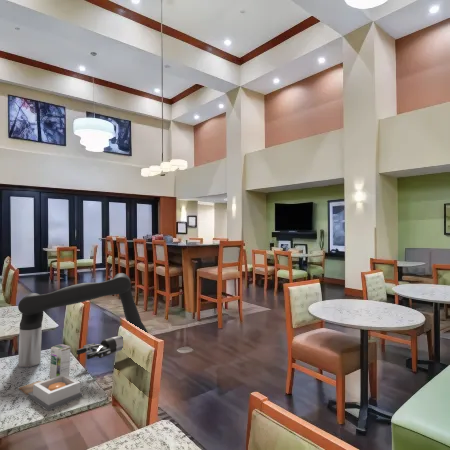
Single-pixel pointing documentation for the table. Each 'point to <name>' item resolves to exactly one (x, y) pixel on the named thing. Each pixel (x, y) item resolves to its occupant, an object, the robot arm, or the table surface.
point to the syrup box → (59, 360)
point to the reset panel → (55, 392)
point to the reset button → (56, 386)
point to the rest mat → (28, 388)
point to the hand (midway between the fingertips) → (82, 354)
